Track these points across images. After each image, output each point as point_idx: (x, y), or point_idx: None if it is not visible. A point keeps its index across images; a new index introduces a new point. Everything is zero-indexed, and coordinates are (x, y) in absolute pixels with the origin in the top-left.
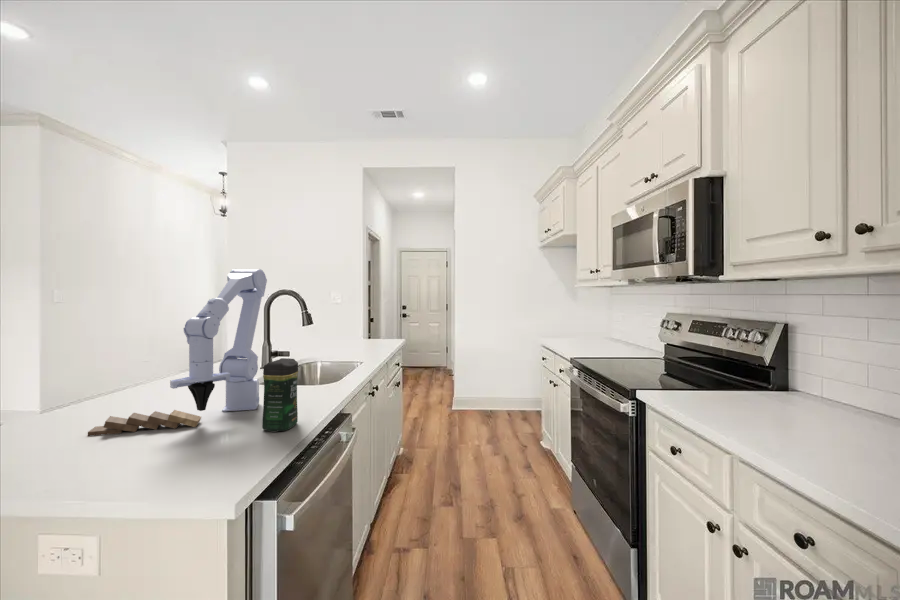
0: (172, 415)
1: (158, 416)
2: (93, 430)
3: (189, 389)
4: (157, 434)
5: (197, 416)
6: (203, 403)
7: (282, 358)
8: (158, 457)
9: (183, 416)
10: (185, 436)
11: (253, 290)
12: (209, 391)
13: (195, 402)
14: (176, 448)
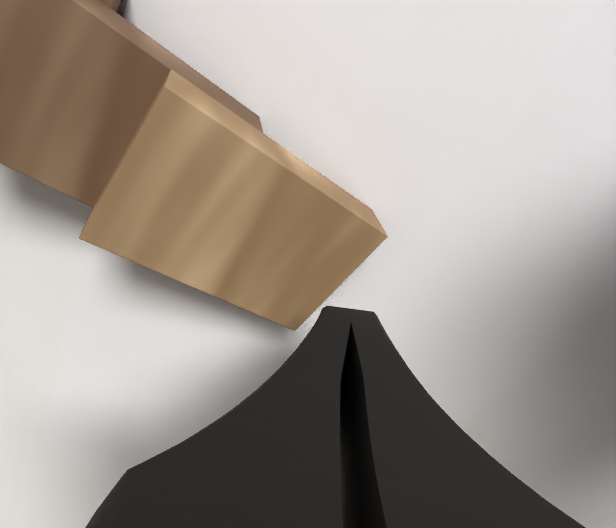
0: (108, 247)
1: (9, 124)
2: None
3: (166, 461)
4: (64, 238)
5: (350, 238)
6: (340, 431)
7: None
8: (23, 509)
9: (211, 259)
10: (175, 397)
11: None
12: None
13: (303, 341)
14: (96, 489)
